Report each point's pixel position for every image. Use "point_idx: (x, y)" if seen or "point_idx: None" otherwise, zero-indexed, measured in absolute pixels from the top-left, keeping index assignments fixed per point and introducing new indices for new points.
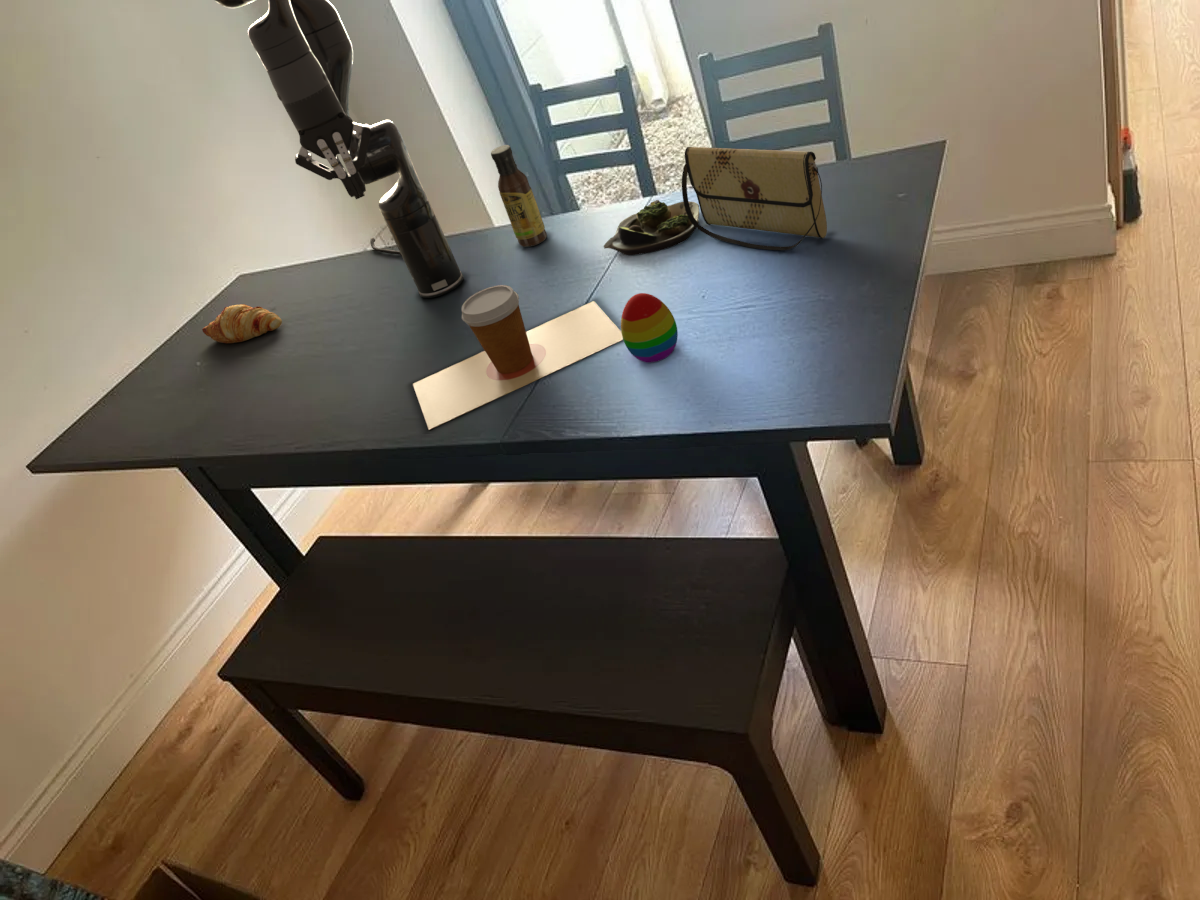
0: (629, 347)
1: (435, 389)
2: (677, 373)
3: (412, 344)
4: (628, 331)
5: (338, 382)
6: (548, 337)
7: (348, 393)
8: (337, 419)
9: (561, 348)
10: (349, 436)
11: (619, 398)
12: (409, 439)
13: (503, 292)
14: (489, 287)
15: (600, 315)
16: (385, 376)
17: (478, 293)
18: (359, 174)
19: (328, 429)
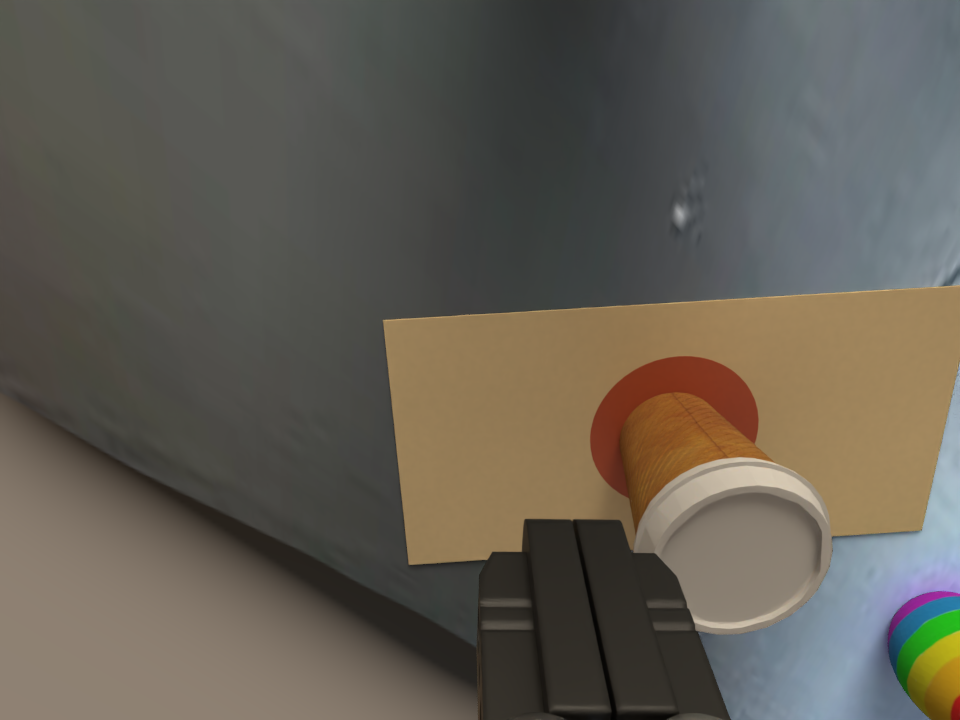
0: (897, 675)
1: (446, 404)
2: (910, 701)
3: (400, 21)
4: (928, 714)
5: (102, 76)
6: (789, 383)
7: (157, 198)
8: (137, 336)
9: (789, 461)
10: (190, 450)
11: (791, 705)
12: (358, 566)
13: (799, 543)
14: (779, 489)
15: (941, 382)
16: (291, 189)
17: (733, 493)
18: (713, 695)
19: (114, 370)
